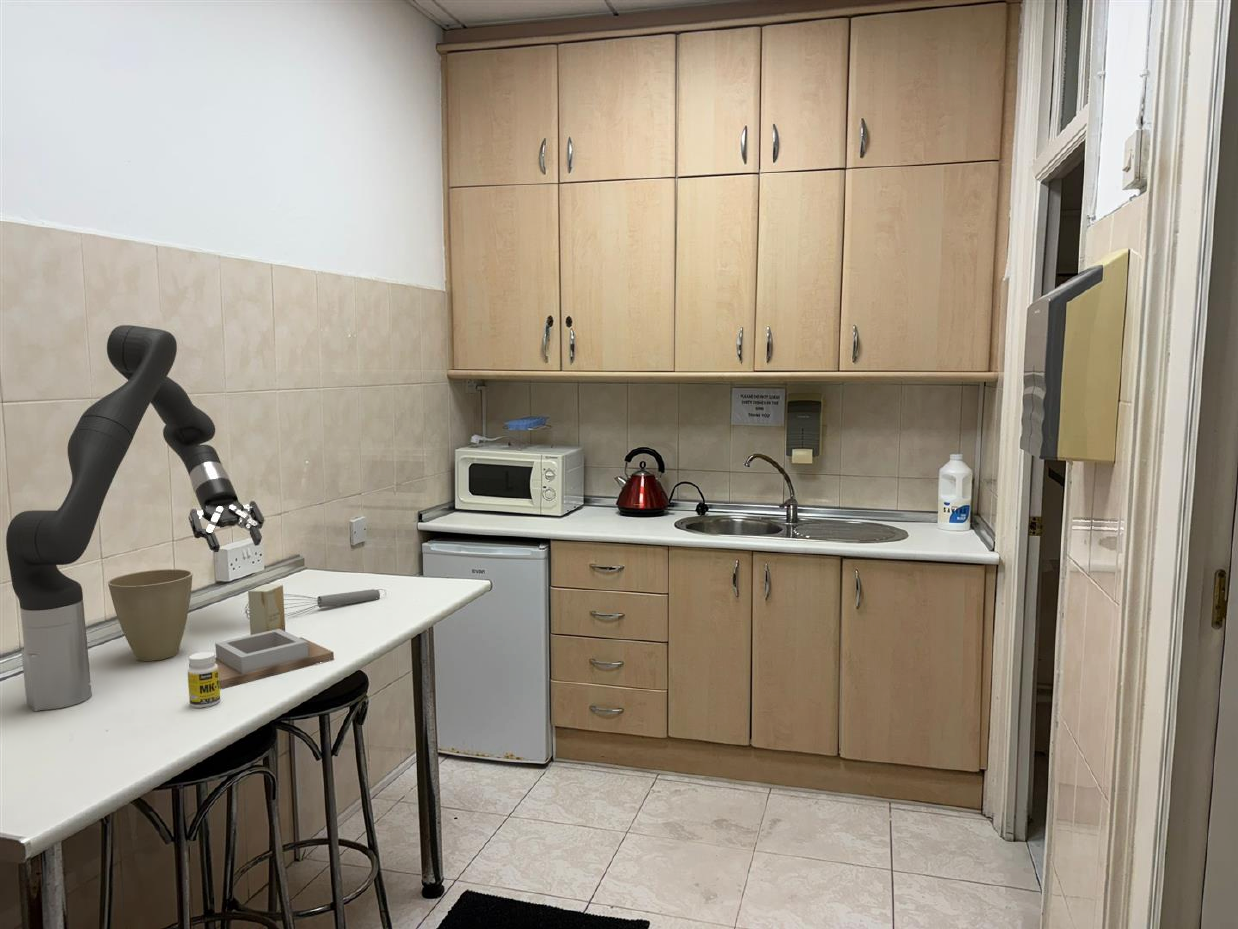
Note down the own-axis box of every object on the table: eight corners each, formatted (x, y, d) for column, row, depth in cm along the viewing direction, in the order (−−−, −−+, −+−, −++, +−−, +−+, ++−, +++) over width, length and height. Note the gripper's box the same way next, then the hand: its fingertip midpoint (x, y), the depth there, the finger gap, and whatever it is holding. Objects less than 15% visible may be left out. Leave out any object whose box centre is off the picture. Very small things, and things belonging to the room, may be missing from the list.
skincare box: (270, 651, 184) (265, 591, 182) (250, 650, 185) (246, 591, 183) (287, 641, 190) (283, 583, 189) (268, 640, 191) (264, 583, 190)
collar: (242, 673, 166) (241, 657, 166) (216, 658, 175) (215, 643, 175) (308, 657, 175) (307, 641, 175) (280, 643, 184) (279, 628, 184)
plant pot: (214, 649, 186) (208, 572, 184) (146, 672, 173) (140, 589, 171) (166, 640, 193) (160, 565, 191) (98, 661, 180) (90, 581, 178)
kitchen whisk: (392, 600, 222) (390, 574, 222) (251, 630, 200) (249, 602, 199) (380, 595, 227) (378, 570, 226) (241, 625, 205) (239, 597, 204)
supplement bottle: (200, 710, 153) (197, 661, 152) (184, 705, 156) (180, 657, 155) (226, 701, 157) (223, 653, 156) (209, 696, 160) (206, 649, 159)
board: (218, 689, 163) (217, 681, 163) (189, 671, 173) (189, 663, 173) (333, 659, 178) (333, 652, 178) (301, 644, 188) (301, 637, 188)
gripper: (182, 480, 193) (207, 541, 186) (249, 472, 203) (275, 530, 196) (175, 502, 197) (199, 563, 191) (241, 494, 207) (267, 551, 200)
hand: (238, 546), depth 193 cm, fingers open, 8 cm apart
